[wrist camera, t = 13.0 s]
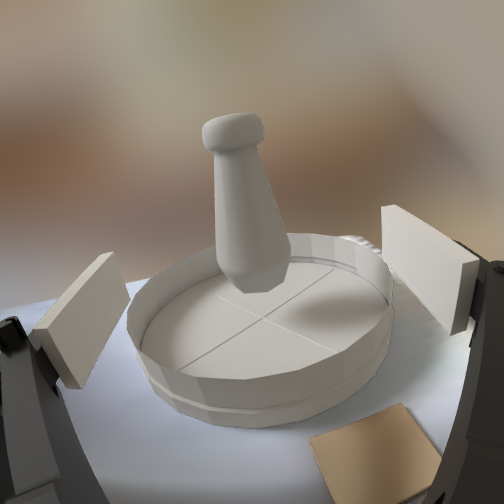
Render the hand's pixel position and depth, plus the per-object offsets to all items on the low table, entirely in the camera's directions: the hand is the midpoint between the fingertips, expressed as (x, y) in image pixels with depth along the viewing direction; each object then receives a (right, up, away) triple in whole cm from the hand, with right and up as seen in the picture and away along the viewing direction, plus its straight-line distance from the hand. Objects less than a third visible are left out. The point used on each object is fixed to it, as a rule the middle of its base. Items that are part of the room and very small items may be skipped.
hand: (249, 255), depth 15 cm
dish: (+1, -7, +13) cm, 15 cm away
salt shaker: (+1, -2, +11) cm, 11 cm away
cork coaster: (+7, -11, -2) cm, 13 cm away
